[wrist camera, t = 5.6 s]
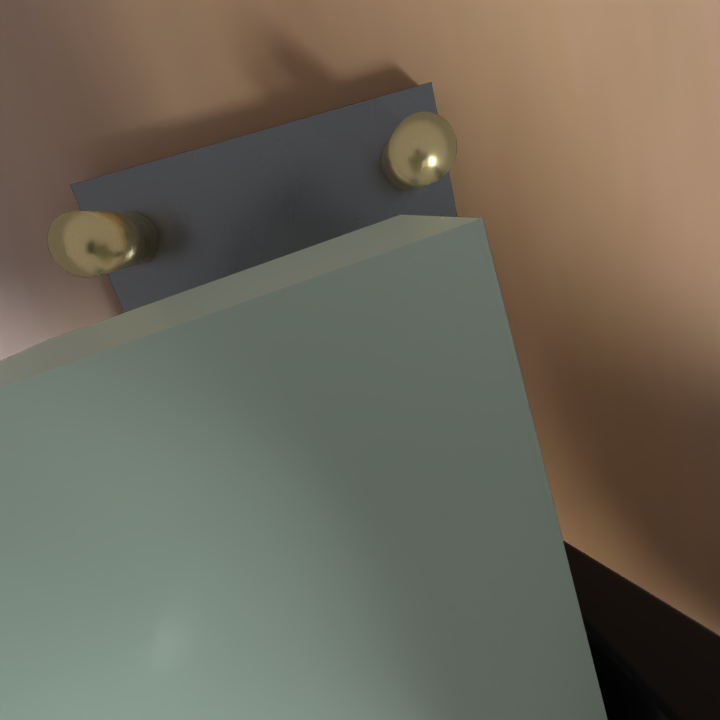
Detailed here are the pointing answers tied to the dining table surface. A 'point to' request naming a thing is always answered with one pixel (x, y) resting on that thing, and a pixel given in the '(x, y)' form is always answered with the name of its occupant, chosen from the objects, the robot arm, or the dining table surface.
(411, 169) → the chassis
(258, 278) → the pale green block
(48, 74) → the dining table surface
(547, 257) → the dining table surface
